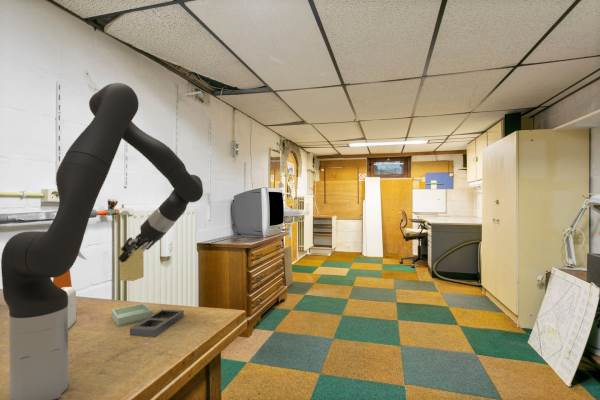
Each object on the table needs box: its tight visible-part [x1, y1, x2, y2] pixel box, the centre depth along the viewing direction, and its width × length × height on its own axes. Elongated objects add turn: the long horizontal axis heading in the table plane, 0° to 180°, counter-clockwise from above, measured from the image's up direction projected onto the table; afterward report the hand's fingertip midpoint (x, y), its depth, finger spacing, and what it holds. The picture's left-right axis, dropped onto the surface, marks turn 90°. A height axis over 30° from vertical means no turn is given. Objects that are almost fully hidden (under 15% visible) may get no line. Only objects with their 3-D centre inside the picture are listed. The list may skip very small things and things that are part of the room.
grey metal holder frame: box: [129, 308, 185, 338], centre depth 98 cm, size 8×16×2 cm, turn 171°
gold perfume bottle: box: [119, 245, 145, 282], centre depth 104 cm, size 5×5×13 cm
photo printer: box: [61, 286, 77, 329], centre depth 96 cm, size 10×4×12 cm, turn 17°
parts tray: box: [111, 303, 153, 327], centre depth 104 cm, size 10×10×2 cm
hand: (126, 258), depth 104 cm, fingers closed on gold perfume bottle, 5 cm apart
